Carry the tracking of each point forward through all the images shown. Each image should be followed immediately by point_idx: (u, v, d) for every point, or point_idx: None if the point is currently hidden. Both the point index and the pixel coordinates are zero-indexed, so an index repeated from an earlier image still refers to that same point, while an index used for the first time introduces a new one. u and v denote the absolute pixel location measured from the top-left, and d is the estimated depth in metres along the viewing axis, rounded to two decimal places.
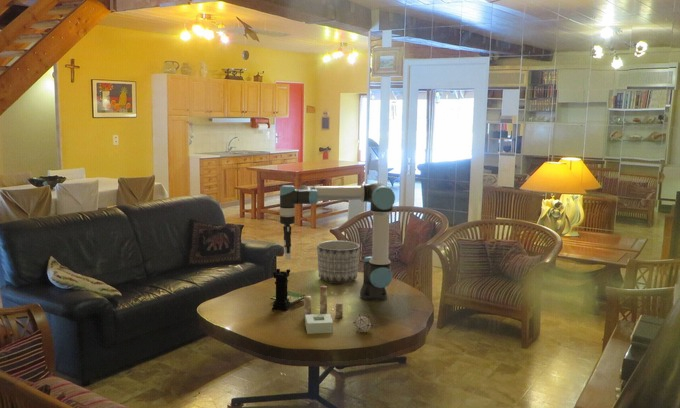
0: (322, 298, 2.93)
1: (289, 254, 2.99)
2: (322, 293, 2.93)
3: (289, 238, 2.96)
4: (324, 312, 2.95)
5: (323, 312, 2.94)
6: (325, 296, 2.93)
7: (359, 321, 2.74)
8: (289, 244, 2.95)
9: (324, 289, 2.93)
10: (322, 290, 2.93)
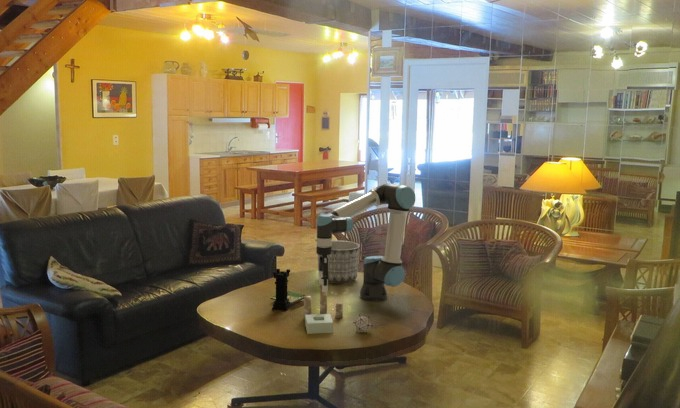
0: (322, 298, 2.93)
1: (326, 286, 2.87)
2: (322, 293, 2.93)
3: (327, 270, 2.84)
4: (324, 312, 2.95)
5: (323, 312, 2.94)
6: (325, 296, 2.93)
7: (359, 321, 2.74)
8: (327, 276, 2.83)
9: None
10: None
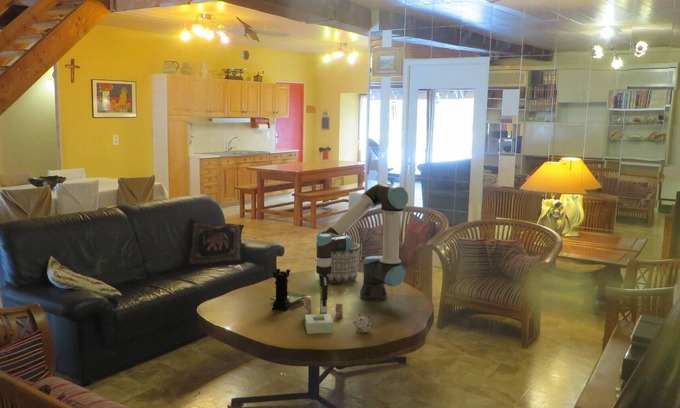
0: None
1: (325, 307, 2.93)
2: None
3: (326, 292, 2.89)
4: (324, 312, 2.95)
5: (323, 312, 2.94)
6: None
7: (359, 321, 2.74)
8: (325, 297, 2.90)
9: None
10: None
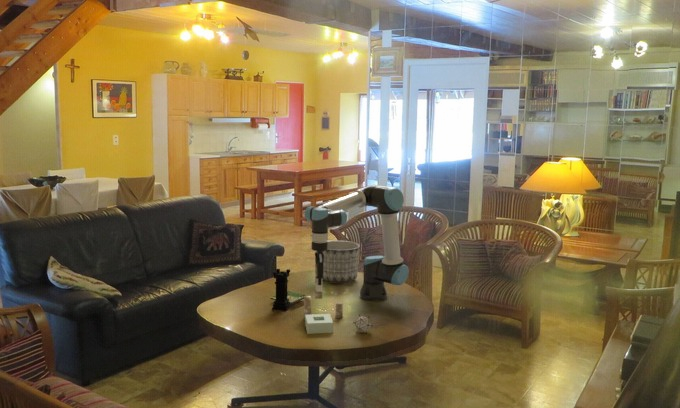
0: None
1: (321, 286, 2.76)
2: None
3: (321, 270, 2.72)
4: (319, 292, 2.77)
5: (318, 292, 2.77)
6: None
7: (359, 321, 2.74)
8: (321, 275, 2.73)
9: None
10: None
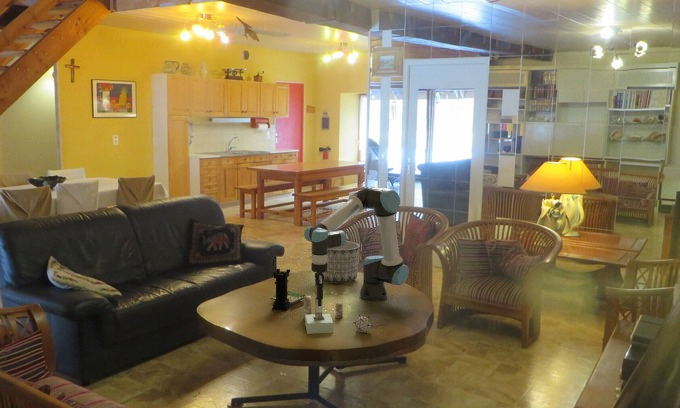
0: None
1: (320, 307, 2.77)
2: None
3: (321, 291, 2.73)
4: (319, 312, 2.78)
5: (318, 312, 2.78)
6: None
7: (359, 321, 2.74)
8: (321, 297, 2.74)
9: None
10: None
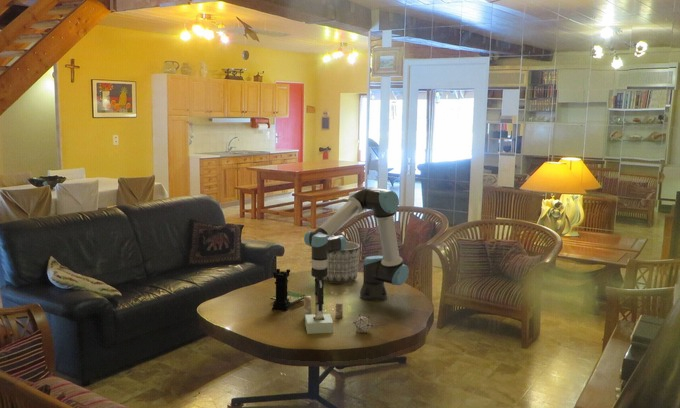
0: None
1: (321, 312, 2.76)
2: None
3: (322, 296, 2.72)
4: None
5: None
6: None
7: (359, 321, 2.74)
8: (322, 302, 2.72)
9: None
10: (317, 300, 2.77)
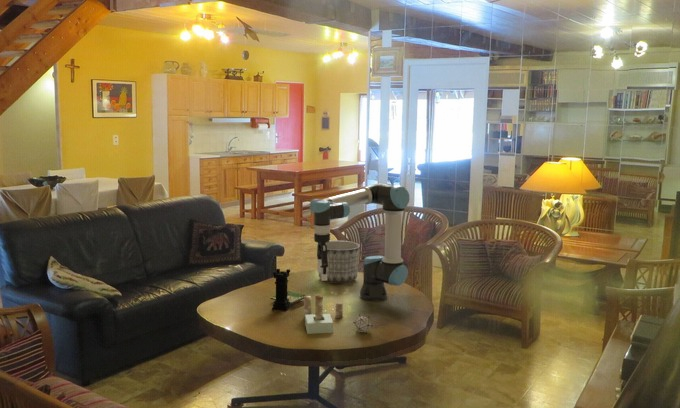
0: (317, 308, 2.78)
1: (325, 275, 2.78)
2: (317, 303, 2.78)
3: (326, 258, 2.75)
4: None
5: None
6: (320, 306, 2.78)
7: (359, 321, 2.74)
8: (326, 264, 2.74)
9: (319, 299, 2.77)
10: (317, 300, 2.77)
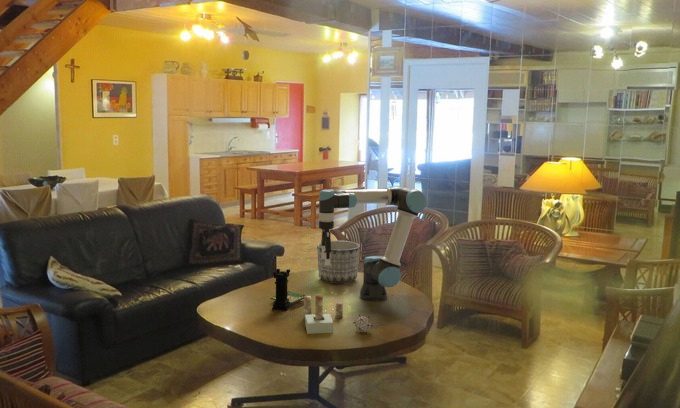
0: (317, 308, 2.78)
1: (329, 260, 2.93)
2: (317, 303, 2.78)
3: (329, 244, 2.90)
4: None
5: None
6: (320, 306, 2.78)
7: (359, 321, 2.74)
8: (329, 250, 2.90)
9: (319, 299, 2.77)
10: (317, 300, 2.77)
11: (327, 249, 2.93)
